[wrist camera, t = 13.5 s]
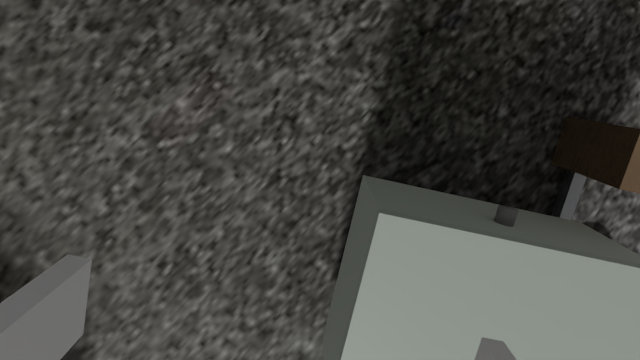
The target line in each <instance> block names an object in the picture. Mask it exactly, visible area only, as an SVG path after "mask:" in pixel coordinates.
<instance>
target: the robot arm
mask: <svg viewBox="0 0 640 360" xmlns="http://www.w3.org/2000/svg"><path fill="white" fill-rule="evenodd" d="M91 262H92V259H88V258H83V257H78V256H73V255H66V256H65V257H64V258H62V259H61V260H60V261H58V262H57V263H55V264H54V265H53V266H51V267H50V268H48V269H47V270H46V271H44V272H43V273H41V274H40V275H39V276H37V277H36V278H34V279H33V280H32V281H30V282H29V283H27V284H26V285H25V286H23V287H22V288H20V289H19V290H18V291H16V292H15V293H14V294H12V295H11V296H9V297H8V298H7V299H5V300H4V301H2V302H1V303H0V360H60V359H61V358H62V357H63V356H64V355H65V354H66V353H67V352H68V351H69V349H70V348H71V347H72V346H73V345H74V344H75V343H76V342H77V341H78V340H79V338H80V337H81V336H82V335H83V332H84V323H85V314H86V306H87V297H88V288H89V280H90V271H91ZM475 360H516V358H515V357H514V355H513V354H512V353H511V351H510V350H509V348H508V347H507V345H506V344H505V343H504V341H499V340H494V339H489V338H484V337H482V339H481V342H480V345H479V348H478V351H477V354H476V357H475Z"/></svg>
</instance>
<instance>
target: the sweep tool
mask: <svg viewBox="0 0 640 360" xmlns="http://www.w3.org/2000/svg"><path fill="white" fill-rule="evenodd" d="M551 164H554V165H557V166H559V167H562V168H565V169H566V172H565V175H564V178H563V181H562V184H561V187H560V190H559V192H558V195H557V198H556V201H555V204H554V207H553V210H552V213H551V216H554V217H559V218H563V219H568V220H572V218H573V215H574V212H575V209H576V206H577V203H578V200H579V198H580V195H581V192H582V189H583V186H584V183H585V181H586V178H587V177H589V178H591V179H594V180H597V181H599V182H602V183H605V184H607V185H610V186H613V187H615V188H618V189H622V190H626V191H631V192H636V193H640V129H636V128H630V127H624V126H618V125H612V124H606V123H600V122H594V121H588V120H582V119H576V118H570V117H566V119H565V122H564V125H563V128H562V131H561V134H560V137H559V140H558V143H557V146H556V149H555V152H554V155H553V158H552V161H551Z"/></svg>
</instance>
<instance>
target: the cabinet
mask: <svg viewBox="0 0 640 360" xmlns="http://www.w3.org/2000/svg"><path fill="white" fill-rule="evenodd" d="M482 337H484V338H489V339H494V340H499V341H504V343H505V344H506V345H507V347H508V348H509V350H510V351H511V353H512V354H513V355H514V357H515V358H516V360H640V255H638V254H636V253H634V252H633V251H631V250H629V249H627V248H625V247H624V246H622V245H620V244H618V243H616V242H615V241H613V240H611V239H609V238H608V237H606V236H604V235H602V234H600V233H599V232H597V231H595V230H593V229H591V228H590V227H588V226H586V225H584V224H582V223H581V222H577V221H573V220H568V219H563V218H559V217H554V216H549V215H545V214H540V213H536V212H531V211H526V210H522V209H517V208H513V207H509V206H506V205H499V204H494V203H489V202H485V201H480V200H476V199H471V198H466V197H462V196H457V195H453V194H448V193H443V192H439V191H434V190H429V189H425V188H420V187H416V186H411V185H406V184H402V183H397V182H393V181H388V180H383V179H379V178H374V177H369V176H365V175H363V177H362V181H361V185H360V189H359V193H358V198H357V202H356V206H355V210H354V214H353V218H352V222H351V226H350V230H349V234H348V238H347V242H346V246H345V250H344V254H343V258H342V262H341V266H340V270H339V274H338V278H337V282H336V286H335V290H334V294H333V298H332V302H331V306H330V310H329V314H328V318H327V322H326V326H325V330H324V334H323V358H324V360H475V357H476V354H477V351H478V348H479V345H480V342H481V339H482Z"/></svg>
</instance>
